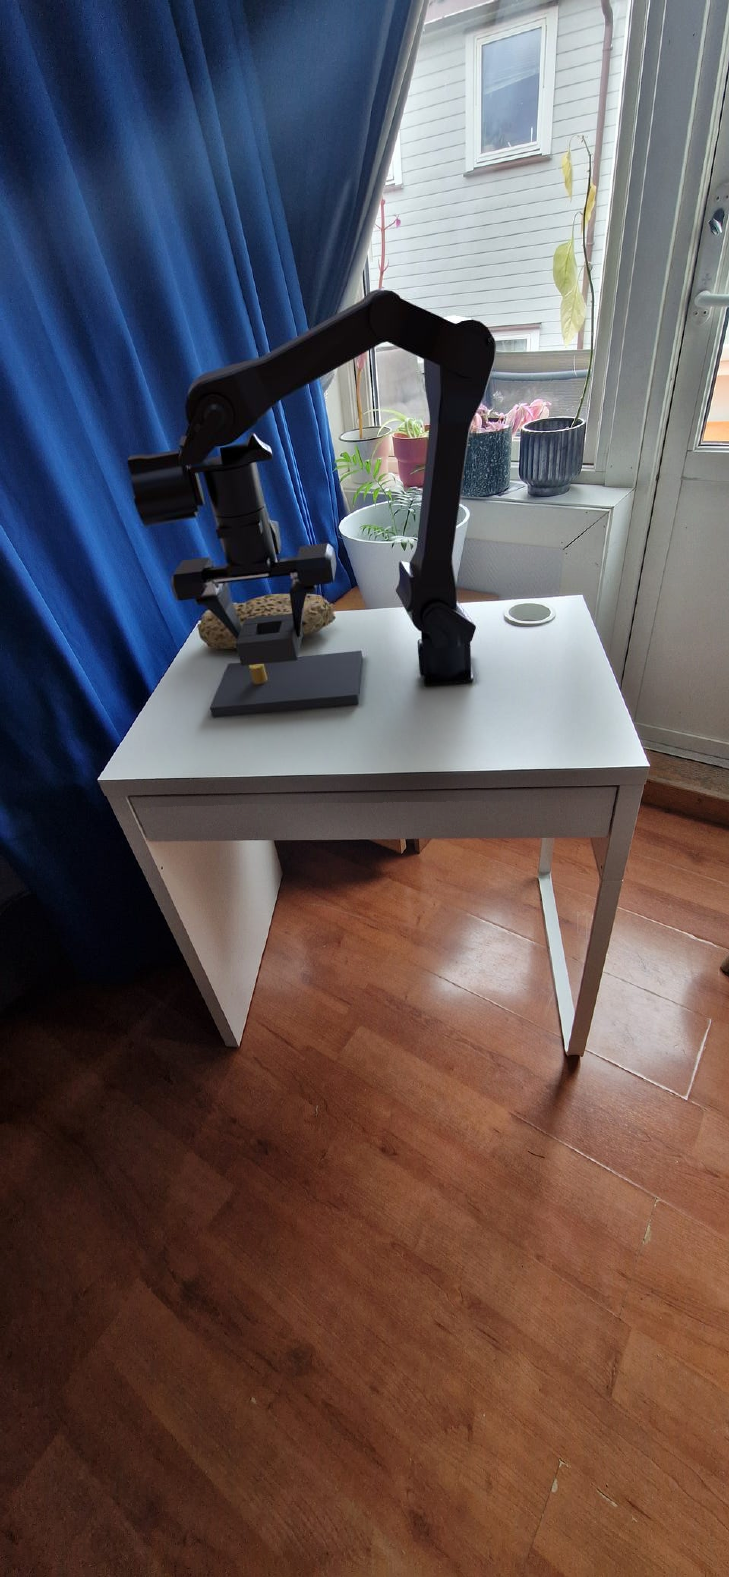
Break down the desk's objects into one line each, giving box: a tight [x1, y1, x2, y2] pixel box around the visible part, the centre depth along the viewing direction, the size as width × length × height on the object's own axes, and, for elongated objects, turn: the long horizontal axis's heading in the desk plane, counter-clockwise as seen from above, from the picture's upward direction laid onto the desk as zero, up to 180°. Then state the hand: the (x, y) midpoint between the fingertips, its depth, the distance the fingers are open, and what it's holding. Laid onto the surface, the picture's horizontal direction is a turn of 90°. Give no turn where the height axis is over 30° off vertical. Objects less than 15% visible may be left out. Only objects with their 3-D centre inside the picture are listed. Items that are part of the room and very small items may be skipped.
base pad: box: [209, 650, 364, 718], centre depth 90 cm, size 20×12×4 cm, turn 87°
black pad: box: [235, 614, 303, 666], centre depth 81 cm, size 7×7×3 cm
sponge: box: [196, 593, 336, 650], centre depth 102 cm, size 13×8×20 cm
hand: (270, 638), depth 81 cm, fingers closed on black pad, 7 cm apart
